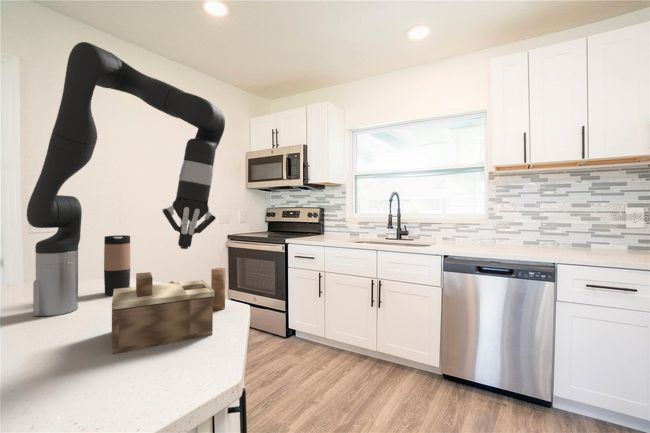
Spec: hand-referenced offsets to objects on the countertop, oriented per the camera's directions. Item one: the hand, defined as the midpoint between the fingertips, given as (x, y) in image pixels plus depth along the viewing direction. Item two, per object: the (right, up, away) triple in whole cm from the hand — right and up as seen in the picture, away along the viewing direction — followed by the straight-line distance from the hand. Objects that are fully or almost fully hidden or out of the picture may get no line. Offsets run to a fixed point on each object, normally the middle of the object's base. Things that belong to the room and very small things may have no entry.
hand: (183, 248), depth 78 cm
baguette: (+3, -20, +15) cm, 25 cm away
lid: (-3, -11, -4) cm, 12 cm away
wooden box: (-3, -20, -4) cm, 21 cm away
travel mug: (-37, -19, +29) cm, 51 cm away
